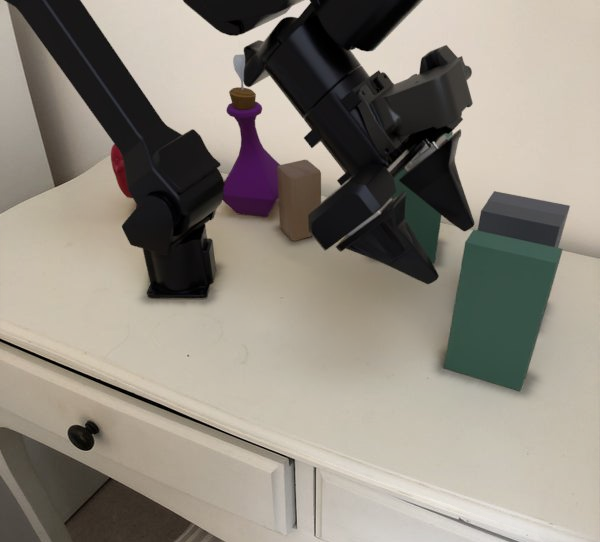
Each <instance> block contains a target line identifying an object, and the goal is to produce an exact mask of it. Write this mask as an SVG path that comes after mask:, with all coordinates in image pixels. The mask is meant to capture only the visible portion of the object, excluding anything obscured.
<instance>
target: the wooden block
mask: <svg viewBox="0 0 600 542" xmlns="http://www.w3.org/2000/svg"><path fill="white" fill-rule="evenodd" d="M277 178H278V197H279V198H278V213H279V214H278V217H279V228H280V230H282V231H283V232H284V233H285V234H286V236H287V237H288V238H289V239H290V240H291V241H295V242H296V241H299V240H302V239H306V238H310V237H313V236H312V235H311V234H310V232H309V226H308V215H309V214H310V213H311V212H312V211H313V210H314V209H315V208H316V207H317V206H319V205H320V204H321V203H322V172H321V170H320V169H319V168H318V167H317V166H315V165H314V164H313V163H312V162H311V161H309V160H308V159H300V160H297V161H291V162H288V163H283V164H280V165H279V166H277Z"/></svg>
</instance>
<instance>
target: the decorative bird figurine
mask: <svg viewBox="0 0 600 542" xmlns="http://www.w3.org/2000/svg"><path fill="white" fill-rule="evenodd" d="M110 161H111V167H112V170H113V173H114V176H115V179H116V182H117V185H118V187H119V190H120V191H121V193H122V194H123V195H124V196H125V197H126V198H128V199H133V197H132V196H131V194H130V192H129V190H128V187H127V181H126V174H125V167H124V161H123V156H122V154H121V152H120V151H119V149H118V148H117V147H116V145H115V144H114V143H113V145H112V147H111V150H110ZM137 207H138V206H137V204H136V205H135V209H136V208H137Z"/></svg>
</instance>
